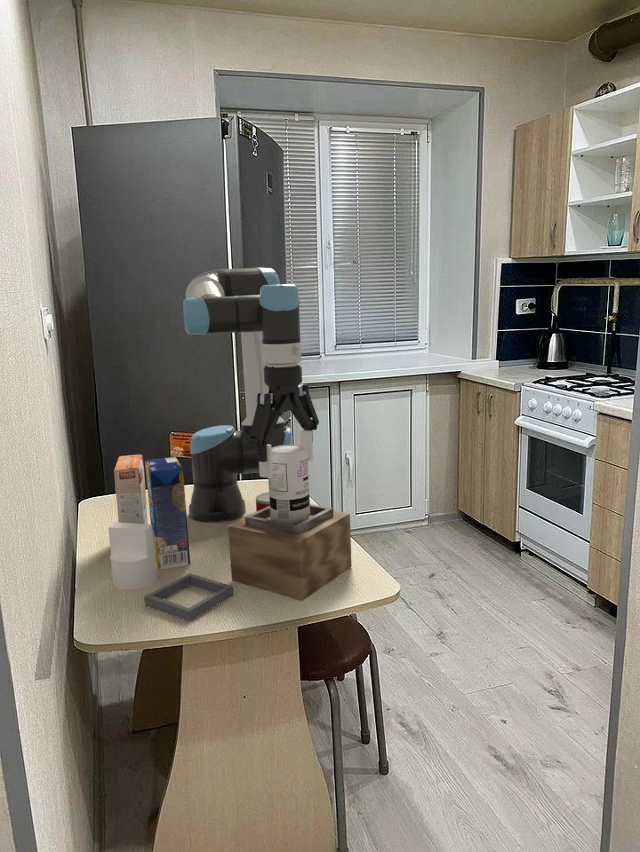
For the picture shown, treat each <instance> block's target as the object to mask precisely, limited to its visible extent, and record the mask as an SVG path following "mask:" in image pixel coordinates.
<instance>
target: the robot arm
mask: <svg viewBox="0 0 640 852" xmlns="http://www.w3.org/2000/svg"><path fill="white" fill-rule="evenodd" d="M279 278H280V277H279V275H278V273H277V272H276V270H275V269H273V268H270V267H259V266H257V267H246V268H245V267H243V268H238V267H237V268H218V269H217V268H216V269H212V270H208V271H205V272H202V273H201V274H198V275H197V276H195V277H193V278H192V279H191V280H190V281H189V283H188V284H187V286H186V289H185V298H184V300H183V301H182V307H183V321H184V331H185V332H186V334H187V335H199V336H205V335H215V334H216V335H219V334H230V333H231V334H233V333H235V334H237V333H240V338H241V339H240V340H241V352H242V367H243V369H242V370H243V379H244V380H243V381H244V395H245V396H244V397H245V410H246V412H245V413H246V417H245V419H244V420H243V421H242V423H241V430H235V428H234V426H233V425H229V424H226V425H217V426H216V425H215V426H212V427H211V426H210V427H206V428H204V429H200V430H198V431H197V432H194V433H193V434H192V435H191V437H190V451H189V453H190V455H191V469H192V479H193V483H192V484H193V490H192V494H191V499H190V503H189V506H188V514H189V518H190V519H192V520H193V521H197V522H201V523H218V522H219V523H220V522H228V521H230V520H234V519H238V518H240V517H241V516H243V515H245V513H246V501H245V500H244V498H243V495H242V492H241V490H240V488H239V484H238V475H241V474H242V475H243V474H245V475H246V474H254V473H255V474H256V473H259V477H261V478H267V479H268V478H272V477H273V468H272V447H275V446H280V445H293V439H292V438H293V437H292V430H291V428H290V427H289V426H286V423H285V419H283V418H282V415H284V413H287V412H288V411H290V412H291V414H292V415H293V417H294V418H295V420H296V421H297V423H298V424H299V426H300V427H301V428H302V429H299V430H298V431H299V432H298V433H299V445H300V446H303V447H304V449H305V451H306V453H307V454H308V462H313V461H314V456H313V454H314V453H313V442H314V439H313V437H314V436H313V435H314V433H313V431H316V430H317V429H318V425H319V424H320V420H319V417H318V415H317V413H316V409H315V407H314V404H313V400H312V398H311V395H310V390H309V389H310V388H309V384H307V383H306V384H305V383H303V367H302V365H301V364H300V362H301V361H302V349H301V347H302V345H301V325H300V323H301V321H300V304H301V299H300V297H299V289H298V286H297V285H295V284H293V283H289V284H281V282H280V279H279Z"/></svg>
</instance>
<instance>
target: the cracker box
mask: <svg viewBox="0 0 640 852" xmlns="http://www.w3.org/2000/svg"><path fill="white" fill-rule="evenodd" d="M113 475H114V476H113V477H114V486H115V487H114V489H115V497H116V507H117V508H116V509H117V510H116V511H117V516H118V517H117V520H118V522H120V523H134V524H149V520H148V519H149V518H148V507H147V492H146V480H145V469H144V458H143V454H132V455H131V454H130V455H128V454H127V455H121V456H118V459H117V461H116V465H115V467H114V470H113Z"/></svg>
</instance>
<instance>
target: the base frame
mask: <svg viewBox="0 0 640 852" xmlns="http://www.w3.org/2000/svg"><path fill="white" fill-rule="evenodd" d="M189 585H190V586H191V587H194V586H195V587H194V588H198V587H199V588H198V589H201V588H202V589H201V590H204V589H205V591H207V590H208V592H211V593H213V594H210V595H209V596H208V597H206V598H204V599H202V600H200V601H198V602H197V603H195V604H193V605H192V606H190V607H186V606H184V605H181V604H179V603H175V602H172V601H170V600H166V598H169V597H171V596H172V595H174V594H176V593H178V592H180V591H181V590H184V589H185V588H189ZM214 592H215V593H214ZM234 593H235V592H234V586H233V585H230V584H227V583H223V582H220V581H217V580H214V579H210V578H208V577H204V576H200V575H197V574H193V573H191V572H190V573H187V574H185V575H183V576H182V577H179V578H177V579H176V580H173V581H172V582H169V583H167V584H166V585H164V586H161V587H159V588H158V589H156V590H153V591H151V592H150V593H148V594H146V595H144V597H143V599H144V606H145V607H147V608H149V607H150V609H152V608H153V610H155V609H156V611H158V610H159V611H158V612H162V613H164V614H166V613H167V614H168V615H170V616H172V617H175V618H178V617H179V618H178V619H181V620H183V619H184V620H183V621H186V620H187V622H189V621H190V622H192V621H194V620H195V619H196V617H197V616H198V617H200V616H201V614H202V613H203V614H205V613H207V612H208V611H210V610H212V609H213V608H212V607H214V606H215V607H217V606H218V605H217V604H219V603H220V604H222V603H224V602H225V601H227V600H229V599H231V598H232V597H234ZM230 597H231V598H230ZM164 598H165V599H164ZM223 601H224V602H223ZM221 602H222V603H221ZM220 604H219V605H220ZM216 605H217V606H216ZM215 607H214V608H215ZM211 608H212V609H211ZM209 609H210V610H209ZM207 610H208V611H207ZM206 611H207V612H206ZM204 612H205V613H204ZM203 614H202V615H203ZM199 615H200V616H199ZM198 617H197V618H198ZM194 618H195V619H194ZM191 620H192V621H191Z"/></svg>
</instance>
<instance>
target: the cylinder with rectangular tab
mask: <svg viewBox="0 0 640 852" xmlns="http://www.w3.org/2000/svg"><path fill="white" fill-rule="evenodd" d="M107 529H108V537H109V538H108V539H109V547H110V549H109V550H110V566H111V574H112V583H113V586H114V587H115V588H117V589H120V590H125V589H126V590H129V589H130V590H138V588H139V589H142V588H145V586H146V587H148V586H151V585H152V584H154V583H155V582H156V581H157V580H158V578H159V577H158V569H157V568H158V565H157V562H156V554H155V549H154V539H153V529H152V525H151V524H149V523H148V524H134V523H120V522H119V521H118V522H114V523H112V524H109V526H108V527H107Z"/></svg>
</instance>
